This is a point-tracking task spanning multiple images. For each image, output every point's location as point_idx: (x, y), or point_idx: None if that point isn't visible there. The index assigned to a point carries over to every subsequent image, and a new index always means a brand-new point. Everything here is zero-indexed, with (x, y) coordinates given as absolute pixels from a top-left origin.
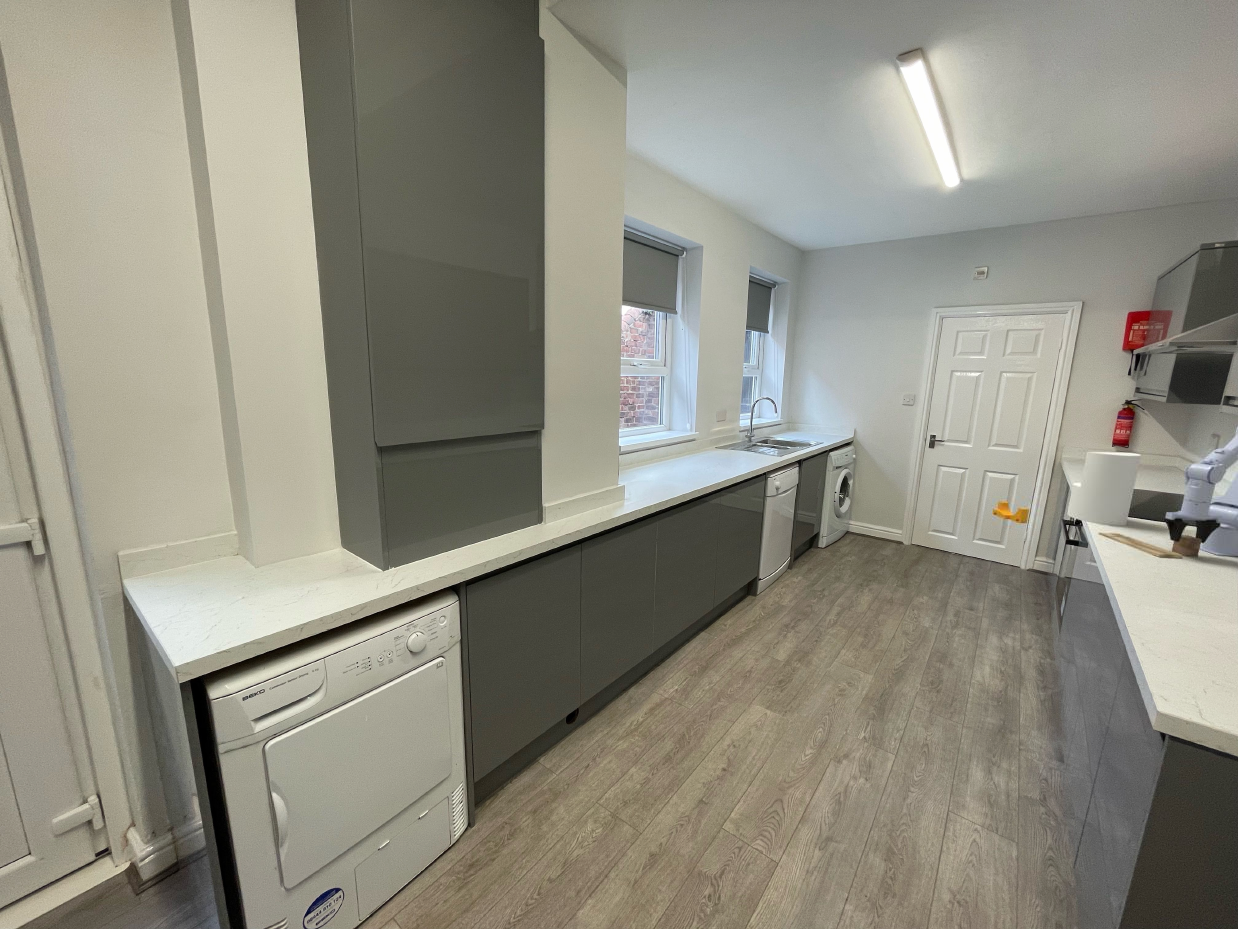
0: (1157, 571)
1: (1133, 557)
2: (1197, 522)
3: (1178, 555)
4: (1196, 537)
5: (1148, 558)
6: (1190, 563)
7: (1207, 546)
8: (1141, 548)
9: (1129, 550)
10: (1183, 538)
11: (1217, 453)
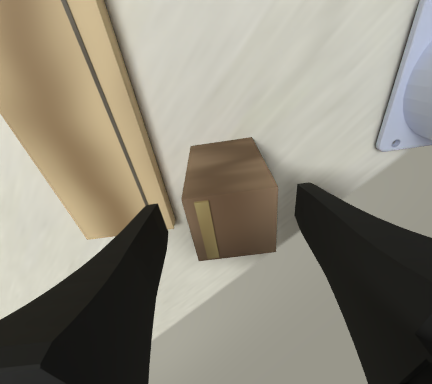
0: None
1: (6, 253)
2: (407, 288)
3: None
4: (309, 197)
5: (53, 250)
6: (165, 258)
7: (425, 90)
8: (45, 174)
9: (4, 176)
10: (193, 238)
11: None
